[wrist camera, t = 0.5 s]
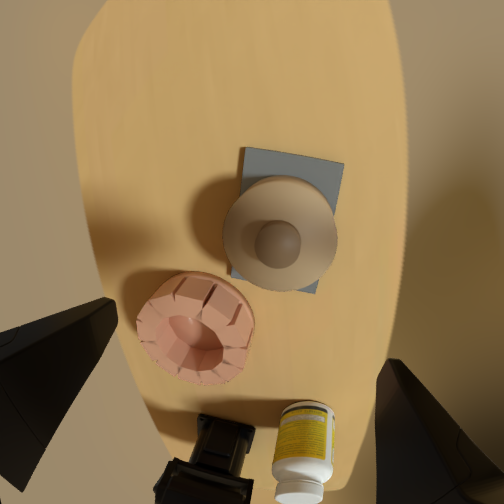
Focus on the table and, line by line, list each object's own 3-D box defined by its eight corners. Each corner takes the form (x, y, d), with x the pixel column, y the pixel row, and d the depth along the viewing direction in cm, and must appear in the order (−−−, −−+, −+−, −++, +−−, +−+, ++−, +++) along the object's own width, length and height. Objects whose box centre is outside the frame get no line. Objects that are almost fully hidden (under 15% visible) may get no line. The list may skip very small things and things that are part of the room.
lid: (322, 278, 20) (323, 309, 17) (229, 260, 21) (213, 287, 17) (343, 185, 17) (351, 200, 14) (240, 167, 18) (223, 177, 15)
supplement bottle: (270, 409, 27) (252, 493, 18) (317, 392, 25) (309, 485, 16) (300, 433, 28) (289, 510, 20) (343, 418, 26) (342, 502, 18)
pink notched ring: (248, 365, 25) (239, 394, 22) (159, 342, 26) (142, 367, 23) (261, 284, 22) (252, 312, 18) (154, 261, 23) (132, 283, 19)
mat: (314, 291, 21) (315, 293, 21) (232, 274, 22) (230, 277, 21) (343, 163, 17) (344, 164, 17) (246, 146, 18) (245, 147, 18)
